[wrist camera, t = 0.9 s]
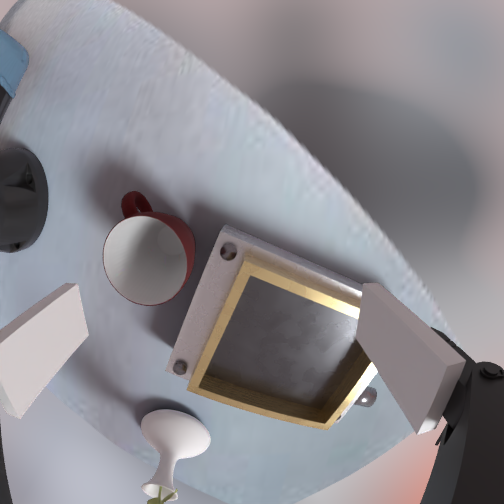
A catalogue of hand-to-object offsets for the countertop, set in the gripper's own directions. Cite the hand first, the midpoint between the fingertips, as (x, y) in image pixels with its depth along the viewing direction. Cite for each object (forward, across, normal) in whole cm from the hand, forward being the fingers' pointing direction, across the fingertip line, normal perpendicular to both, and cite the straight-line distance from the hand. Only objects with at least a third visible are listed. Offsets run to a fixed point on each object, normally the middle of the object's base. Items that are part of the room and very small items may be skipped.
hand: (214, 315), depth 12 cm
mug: (+22, -8, 0) cm, 23 cm away
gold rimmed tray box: (+21, +8, -13) cm, 26 cm away
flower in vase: (+21, -9, -31) cm, 39 cm away
